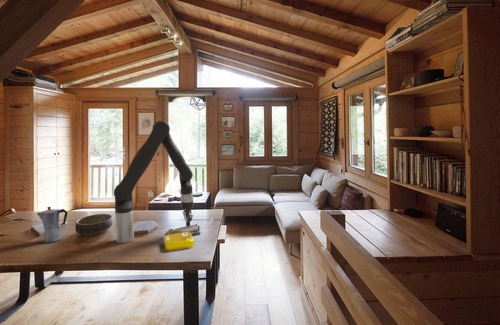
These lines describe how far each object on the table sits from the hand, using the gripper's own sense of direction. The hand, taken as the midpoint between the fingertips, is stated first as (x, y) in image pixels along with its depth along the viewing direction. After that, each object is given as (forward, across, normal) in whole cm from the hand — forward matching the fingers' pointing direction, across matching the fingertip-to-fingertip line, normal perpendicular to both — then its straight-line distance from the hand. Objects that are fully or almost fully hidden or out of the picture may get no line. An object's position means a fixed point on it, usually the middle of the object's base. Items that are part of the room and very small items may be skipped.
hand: (188, 227), depth 177 cm
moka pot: (+2, -27, -72) cm, 77 cm away
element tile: (+3, +18, -12) cm, 21 cm away
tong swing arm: (+1, +2, -2) cm, 3 cm away
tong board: (+2, +3, -4) cm, 6 cm away
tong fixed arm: (+1, +4, -4) cm, 6 cm away
